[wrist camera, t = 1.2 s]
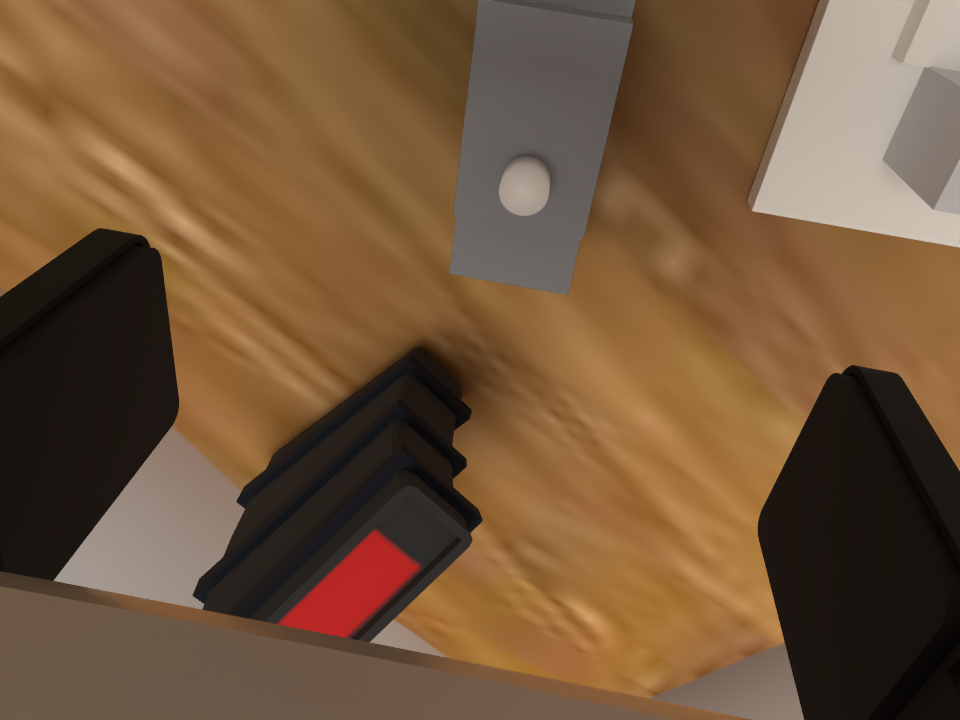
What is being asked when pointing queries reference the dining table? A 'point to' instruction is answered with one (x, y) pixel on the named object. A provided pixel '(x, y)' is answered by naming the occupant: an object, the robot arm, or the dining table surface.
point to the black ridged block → (352, 511)
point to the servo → (535, 136)
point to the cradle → (871, 122)
